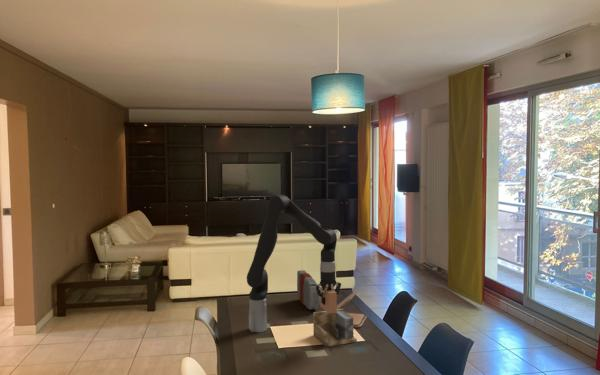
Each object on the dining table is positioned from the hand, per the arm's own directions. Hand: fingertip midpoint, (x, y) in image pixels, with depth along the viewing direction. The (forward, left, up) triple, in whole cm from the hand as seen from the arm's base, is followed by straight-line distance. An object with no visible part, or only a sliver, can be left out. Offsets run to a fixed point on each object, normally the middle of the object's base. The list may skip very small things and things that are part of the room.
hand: (328, 303), depth 224 cm
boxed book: (0, 0, -3) cm, 3 cm away
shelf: (+4, +3, -19) cm, 20 cm away
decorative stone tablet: (+10, +58, -19) cm, 62 cm away
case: (+21, +25, -20) cm, 38 cm away
